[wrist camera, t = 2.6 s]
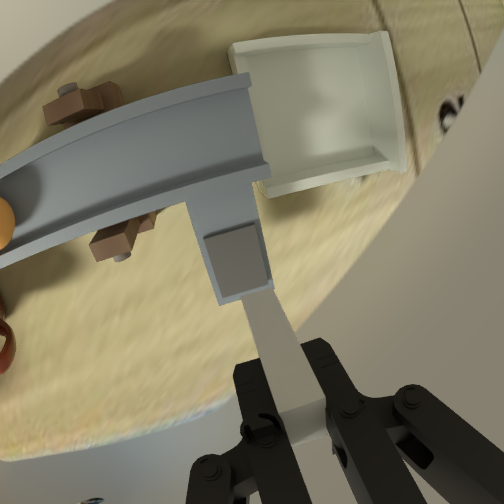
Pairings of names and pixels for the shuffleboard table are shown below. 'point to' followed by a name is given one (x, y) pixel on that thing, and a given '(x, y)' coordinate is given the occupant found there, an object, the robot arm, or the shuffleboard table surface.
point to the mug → (6, 342)
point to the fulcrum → (79, 110)
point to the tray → (323, 107)
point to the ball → (6, 223)
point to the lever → (151, 179)
